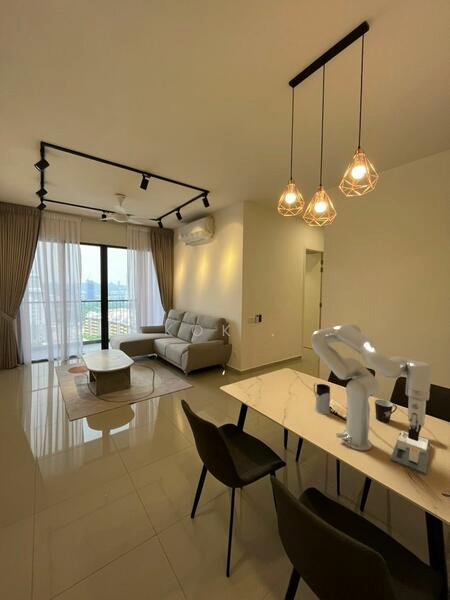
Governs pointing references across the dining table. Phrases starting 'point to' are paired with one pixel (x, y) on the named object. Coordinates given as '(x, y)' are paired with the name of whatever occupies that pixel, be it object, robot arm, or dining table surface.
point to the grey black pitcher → (322, 398)
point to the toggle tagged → (414, 454)
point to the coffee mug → (383, 410)
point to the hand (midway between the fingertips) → (414, 434)
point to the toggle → (402, 443)
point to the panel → (403, 460)
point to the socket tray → (416, 442)
